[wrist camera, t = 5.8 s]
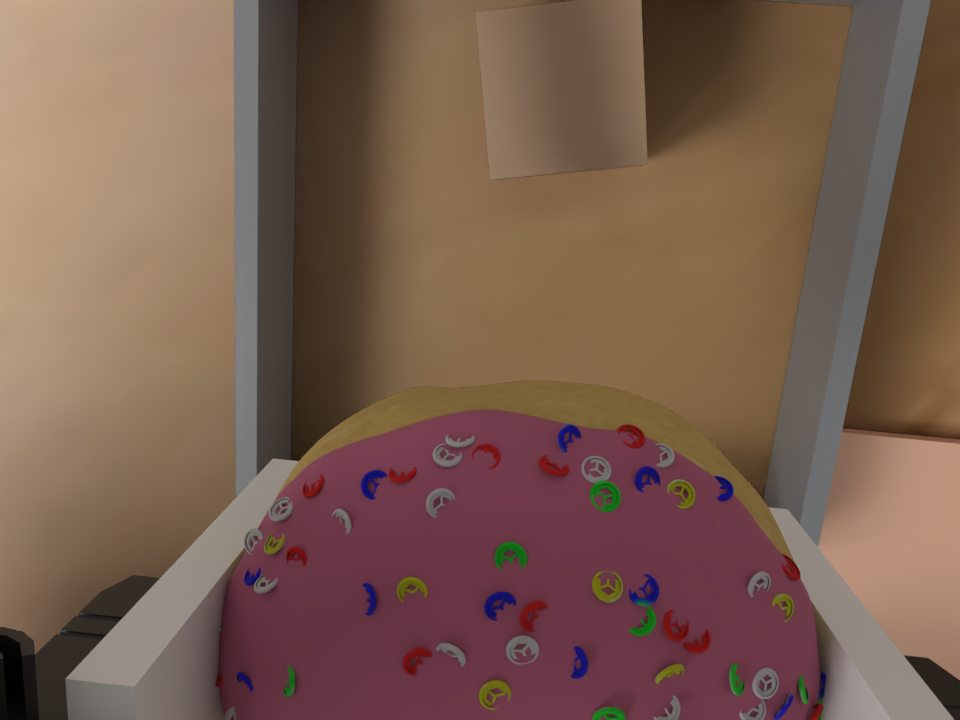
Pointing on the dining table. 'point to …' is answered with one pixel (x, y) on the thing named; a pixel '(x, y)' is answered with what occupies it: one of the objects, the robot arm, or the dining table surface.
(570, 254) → the dining table surface
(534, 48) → the tan cube
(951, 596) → the plate
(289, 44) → the corral
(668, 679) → the cupcake
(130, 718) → the robot arm
